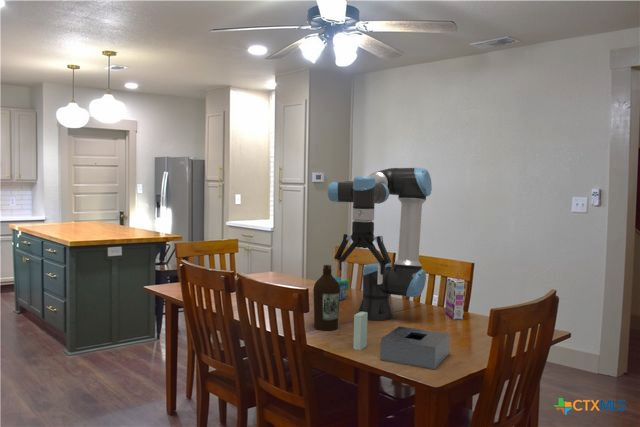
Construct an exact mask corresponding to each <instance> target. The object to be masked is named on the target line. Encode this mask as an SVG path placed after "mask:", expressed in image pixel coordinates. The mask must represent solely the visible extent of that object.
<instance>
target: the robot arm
mask: <svg viewBox="0 0 640 427" xmlns="http://www.w3.org/2000/svg"><path fill="white" fill-rule="evenodd" d="M432 188H433V186H432V178H431V175H430V173H429V171H428V170H427V169H426V168H422V167H391V168H385V169H381V170H378V171H374V172H372V173H370V174H369V175H367V176H355V177H354V178H353V179H350V180H346V181H332V182H330V184H329V185H328V187H327V196H328V199H329V201H330V202H332V203H333V202H334V203H352V220H353V221H352V223H351V233H352V234H349V233H343V236H342V240H341V242H340V245H339V247H338V249H337V252H336V254H335V255H334V259H335V260H337V261H339V264H338V266H339V268H338V269H339V271H341V276H340V277H341V280H346V278H347V277H348V276H347V271H348V269H347V268H348V267H347V266H348V261H347V260H346V259H347V258H348V257H349V256H350V255H351V254H352V253H353V252H354V250H355V249H356V248H358V249H360V248H362V249H368V250H369V251H370V253H372V256H373V257H374V258H375V259H376V260H377V262H376V263H369V264H366V265H364V266H363V272H362V297H361V298H362V299H361V302H360V305H359V306H358V307H359V308H358V311H357V313H359V312H368V316H367V321H368V320H370V321H386V320H387V321H388V320H391V319H393V318H394V311H393V307H392V304H391V301H390V295H393V296H401V297H407V298H411V297H412V298H417V297H420V296H421V294H423V291H424V289H425V286H426V282H427V272H426V270H424V269H422V268H423V264H422V263H420V261H419V259H420V258H419V257H420V256H419V255H420V243H421V242H420V241H421V227H422V226H421V224H422V211H423V209H422V208H423V204H424V203H425V202H426V201H427V197H430V195H431V194H432ZM390 195H392V196H398V197H397V198H398V200H399V202H400V204H401V205H400V206H401V207H400V208H401V210H400V223H399V237H398V253H397V260H395V262H394V263H393V266H392V265H391V262H392V261H391V258H390V255H389V253H388V251H387V249H386V247H385V246H386V245H385V244H384V240H383V239H384V238H383V236H382V235H378V236H375V235H374V234H375V222H374V220H375V204H382V203H385V202H386V201H387V200H388V199H389V196H390ZM350 240H351V241H352V243H351V244H350V245H349V247H348V248H347V249H346V247H347V246H348V245H347V244H348V243H349V241H350ZM374 241H375V243H376V244H377V246H378V248H379V251H380V252H379V251H378V249H377V248H376V246H375V244H374V243H373V242H374ZM345 249H346V250H345ZM344 251H345V252H344Z"/></svg>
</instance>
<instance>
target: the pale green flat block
mask: <svg viewBox="0 0 640 427" xmlns="http://www.w3.org/2000/svg"><path fill="white" fill-rule="evenodd" d="M367 316H368V312H359V313H358V312H357V313H355V314H354V315H353V350H356V351H361V350H364V349H365V348H366V347H367V344H368V319H367Z"/></svg>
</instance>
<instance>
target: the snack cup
mask: <svg viewBox="0 0 640 427" xmlns="http://www.w3.org/2000/svg"><path fill="white" fill-rule="evenodd" d="M333 277H334V276H333ZM334 279H335V280H336V281H337V282H338V283H339V286H340V300H339V301H342V300H345V299H346V295H347V291H349V290H350V287H349V286H350V285H349V283H350V282H349V281H350V280H349V278H347V277H346V280H341V276H339V277H336V276H335V277H334Z"/></svg>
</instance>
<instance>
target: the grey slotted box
mask: <svg viewBox="0 0 640 427" xmlns="http://www.w3.org/2000/svg"><path fill="white" fill-rule="evenodd" d="M450 336H451V334H450V333H446V332H441V331H433V330H428V329H427V330H426V329H419V328H412V327H406V326H397V327H396V328H395V329H393V330H391V331H390V332H389V333H387V334H386V335H384V336H383V337H381V338H380V354H379V355H380V357H379V358H380V361H385V362H389V363H390V362H391V363H396V364H403V365H409V366H413V367H419V368H423V369H424V368H425V369H430V370H436V369H437V368H438V366H439V365H441V363H443V361H444V360H445V359H446V358H447V356H449V354H450Z"/></svg>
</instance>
